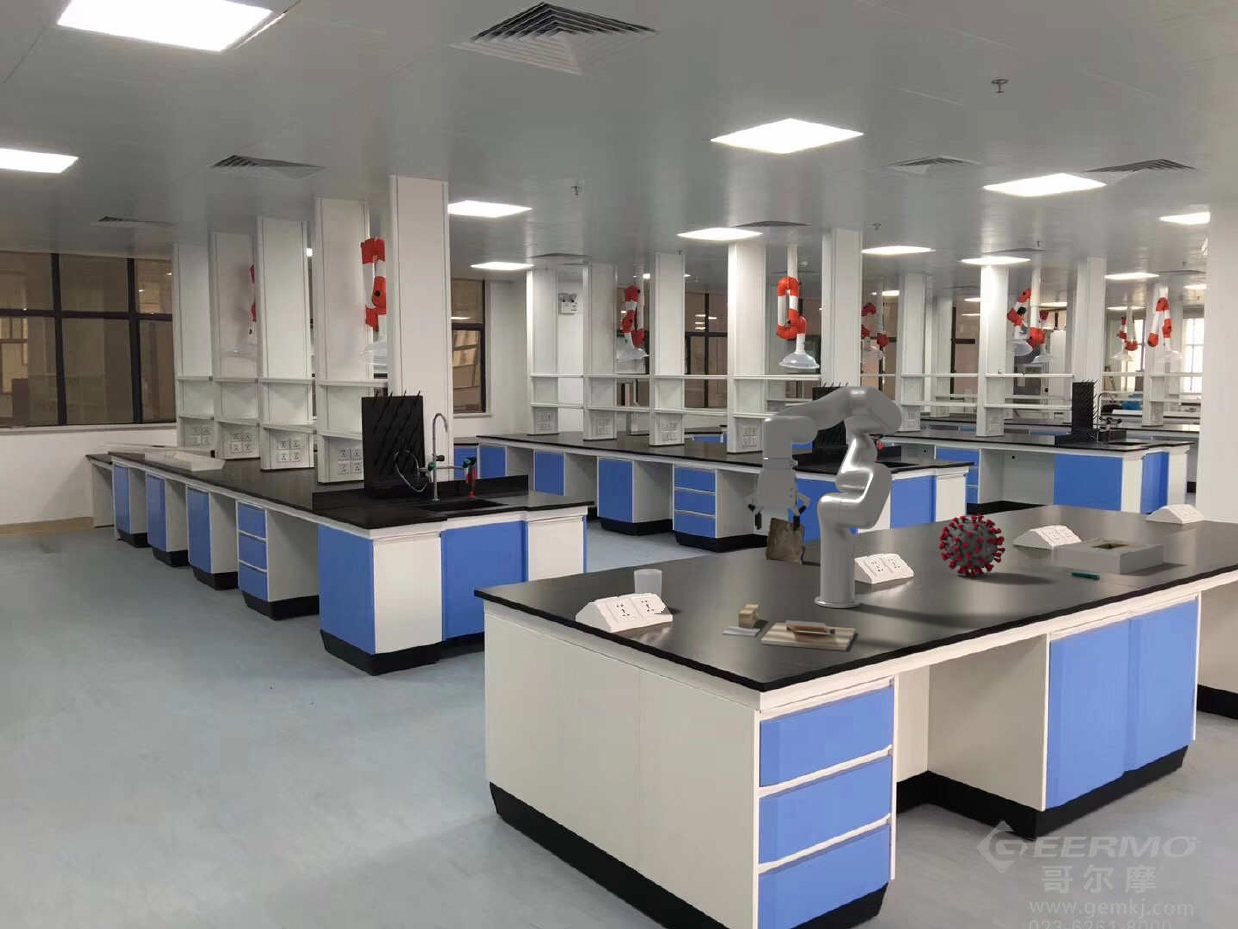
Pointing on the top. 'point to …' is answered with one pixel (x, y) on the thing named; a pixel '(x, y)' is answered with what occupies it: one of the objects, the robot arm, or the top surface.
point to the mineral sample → (785, 541)
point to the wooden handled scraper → (746, 622)
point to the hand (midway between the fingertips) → (777, 529)
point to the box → (1107, 555)
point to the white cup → (648, 581)
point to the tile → (807, 626)
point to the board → (809, 638)
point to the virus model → (971, 545)
